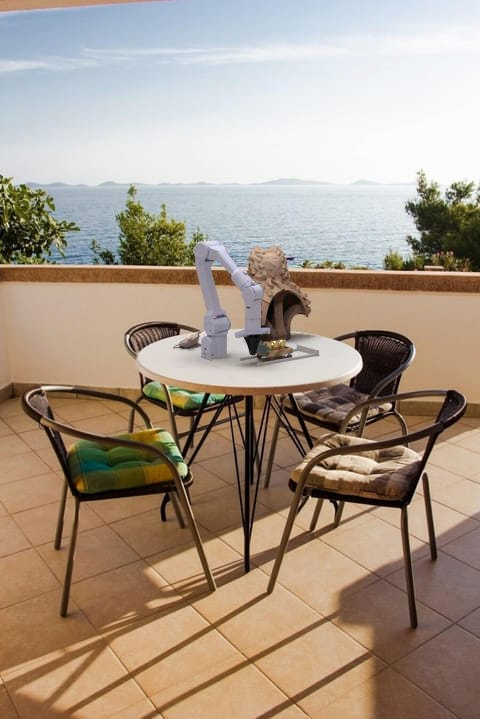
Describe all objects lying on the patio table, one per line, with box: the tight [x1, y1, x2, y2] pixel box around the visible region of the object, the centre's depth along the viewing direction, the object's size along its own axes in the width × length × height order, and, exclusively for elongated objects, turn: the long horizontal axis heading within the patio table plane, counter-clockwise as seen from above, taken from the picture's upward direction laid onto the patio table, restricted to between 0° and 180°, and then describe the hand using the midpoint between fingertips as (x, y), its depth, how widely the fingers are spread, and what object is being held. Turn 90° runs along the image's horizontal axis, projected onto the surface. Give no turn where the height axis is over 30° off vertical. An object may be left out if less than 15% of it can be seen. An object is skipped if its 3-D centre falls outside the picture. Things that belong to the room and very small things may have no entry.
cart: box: [256, 343, 294, 361], centre depth 249 cm, size 12×9×6 cm
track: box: [239, 343, 320, 367], centre depth 251 cm, size 29×12×3 cm, turn 126°
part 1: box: [263, 341, 272, 352], centre depth 246 cm, size 3×3×4 cm
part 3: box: [278, 339, 287, 350], centre depth 250 cm, size 3×3×4 cm
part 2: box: [271, 340, 279, 351], centre depth 248 cm, size 3×3×4 cm
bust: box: [247, 244, 312, 342], centre depth 281 cm, size 34×18×40 cm, turn 130°
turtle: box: [173, 329, 203, 349], centre depth 272 cm, size 16×10×10 cm, turn 2°
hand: (252, 354), depth 243 cm, fingers closed
